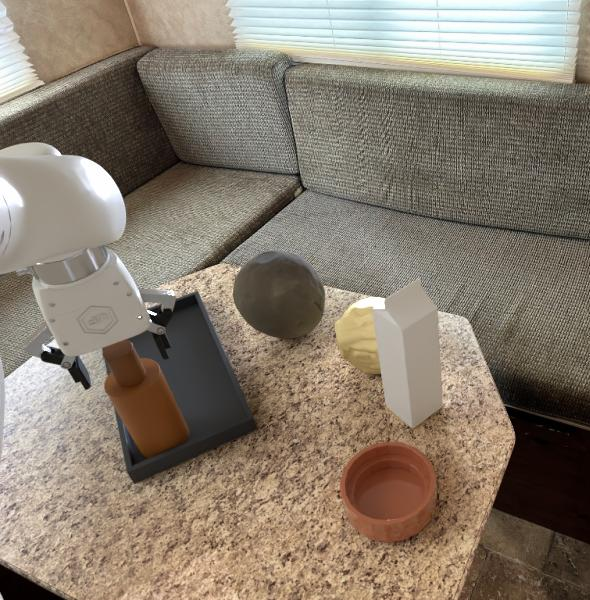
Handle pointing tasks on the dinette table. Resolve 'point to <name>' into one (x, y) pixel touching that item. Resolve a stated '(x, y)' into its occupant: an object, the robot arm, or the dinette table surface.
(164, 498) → the dinette table surface
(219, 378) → the tray
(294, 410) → the dinette table surface
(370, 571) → the dinette table surface
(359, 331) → the sculpture
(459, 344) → the dinette table surface
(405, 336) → the milk
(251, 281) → the dark grey rock
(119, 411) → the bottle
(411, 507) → the bowl
